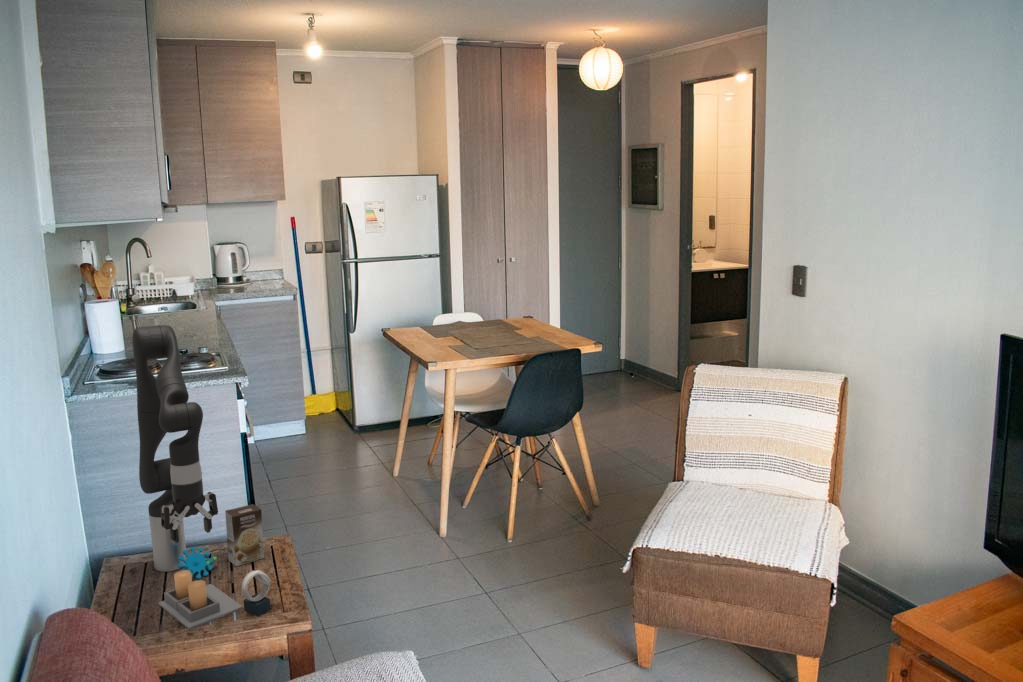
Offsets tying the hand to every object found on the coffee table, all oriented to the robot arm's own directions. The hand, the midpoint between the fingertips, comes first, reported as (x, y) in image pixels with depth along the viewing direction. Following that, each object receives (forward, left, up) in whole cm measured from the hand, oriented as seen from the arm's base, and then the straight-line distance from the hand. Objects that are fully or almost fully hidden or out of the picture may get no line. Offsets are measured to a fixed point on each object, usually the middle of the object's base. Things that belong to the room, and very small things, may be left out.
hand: (191, 536), depth 220 cm
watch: (+10, +12, -22) cm, 27 cm away
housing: (-3, +2, -22) cm, 22 cm away
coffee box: (-21, +25, -22) cm, 40 cm away
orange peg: (0, 0, -21) cm, 21 cm away
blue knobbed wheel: (-23, +10, -22) cm, 33 cm away
